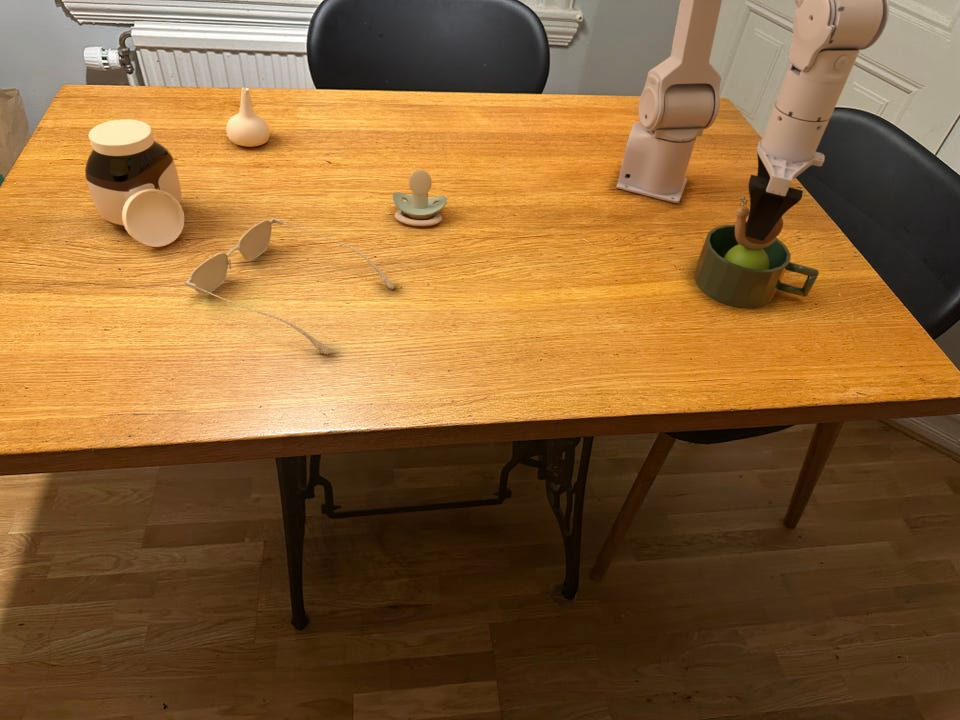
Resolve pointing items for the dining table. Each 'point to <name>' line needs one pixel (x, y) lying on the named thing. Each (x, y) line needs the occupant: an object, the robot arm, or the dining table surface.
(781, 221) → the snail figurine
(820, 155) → the robot arm
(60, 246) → the dining table surface
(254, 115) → the garlic bulb
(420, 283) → the dining table surface
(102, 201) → the spread jar
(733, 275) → the green mug
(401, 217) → the pacifier
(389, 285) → the eyeglasses
